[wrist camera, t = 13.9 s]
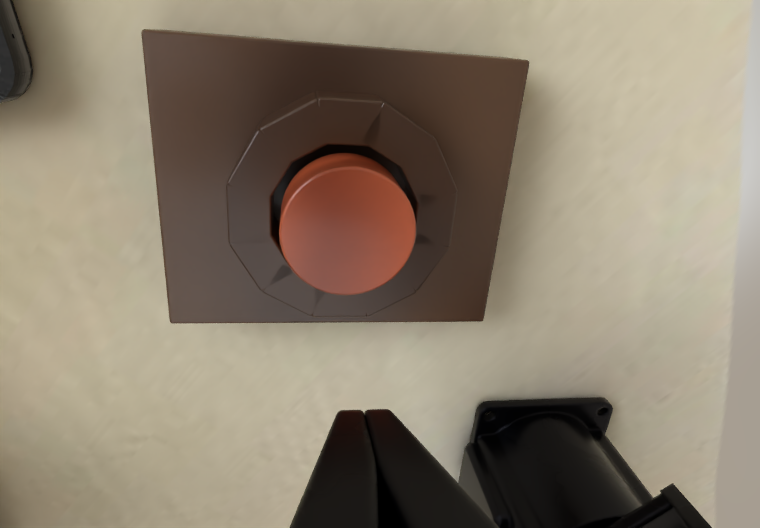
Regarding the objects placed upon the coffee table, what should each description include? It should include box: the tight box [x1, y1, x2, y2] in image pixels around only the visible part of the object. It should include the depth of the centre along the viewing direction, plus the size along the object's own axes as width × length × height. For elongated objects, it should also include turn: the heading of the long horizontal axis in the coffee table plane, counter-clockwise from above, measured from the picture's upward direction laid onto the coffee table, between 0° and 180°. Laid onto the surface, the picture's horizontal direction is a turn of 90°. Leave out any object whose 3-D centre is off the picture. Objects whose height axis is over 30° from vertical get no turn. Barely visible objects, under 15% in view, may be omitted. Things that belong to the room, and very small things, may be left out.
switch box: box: [142, 29, 529, 323], centre depth 16 cm, size 11×9×4 cm
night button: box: [279, 153, 416, 295], centre depth 14 cm, size 4×4×2 cm
